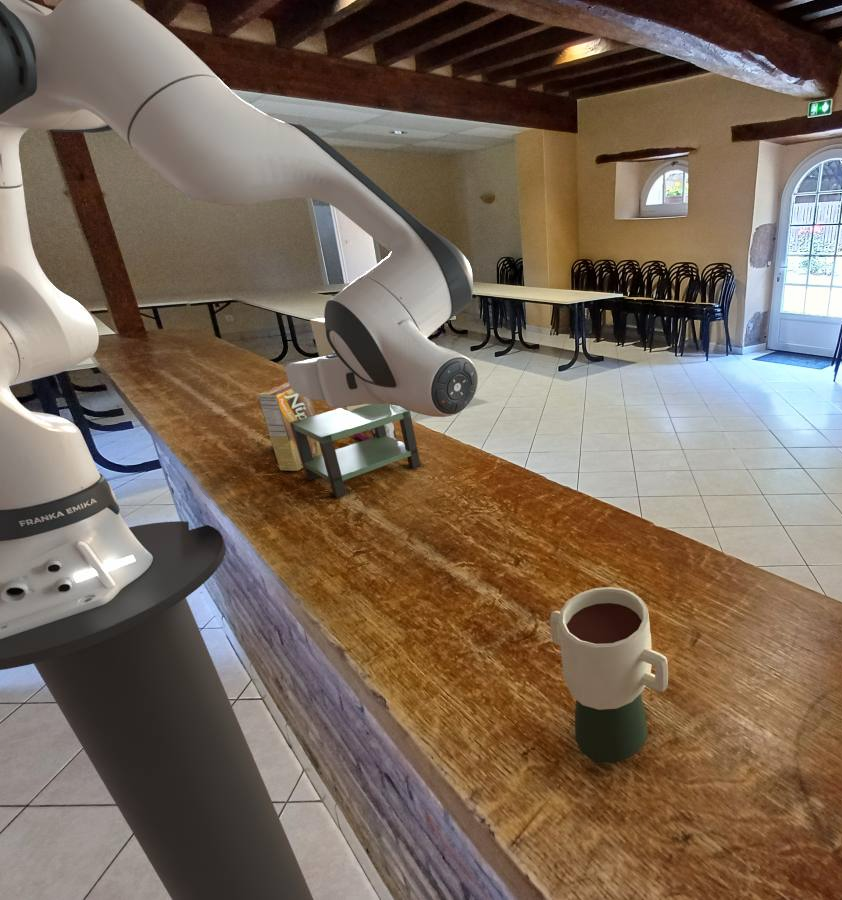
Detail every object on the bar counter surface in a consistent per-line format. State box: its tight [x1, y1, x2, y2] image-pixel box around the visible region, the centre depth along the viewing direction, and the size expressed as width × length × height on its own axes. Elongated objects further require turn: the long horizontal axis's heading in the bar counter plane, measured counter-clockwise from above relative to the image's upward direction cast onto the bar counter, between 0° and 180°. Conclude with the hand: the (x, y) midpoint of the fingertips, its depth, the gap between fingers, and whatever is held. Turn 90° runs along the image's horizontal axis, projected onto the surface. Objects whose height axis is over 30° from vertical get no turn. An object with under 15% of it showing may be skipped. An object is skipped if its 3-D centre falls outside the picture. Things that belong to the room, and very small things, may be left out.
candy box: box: [257, 381, 322, 472], centre depth 106 cm, size 9×4×15 cm, turn 171°
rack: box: [290, 403, 421, 498], centre depth 101 cm, size 16×13×11 cm
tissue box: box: [309, 317, 371, 411], centre depth 83 cm, size 6×6×13 cm
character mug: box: [549, 586, 669, 764], centre depth 45 cm, size 11×7×13 cm, turn 56°
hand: (343, 357), depth 83 cm, fingers closed on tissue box, 5 cm apart
